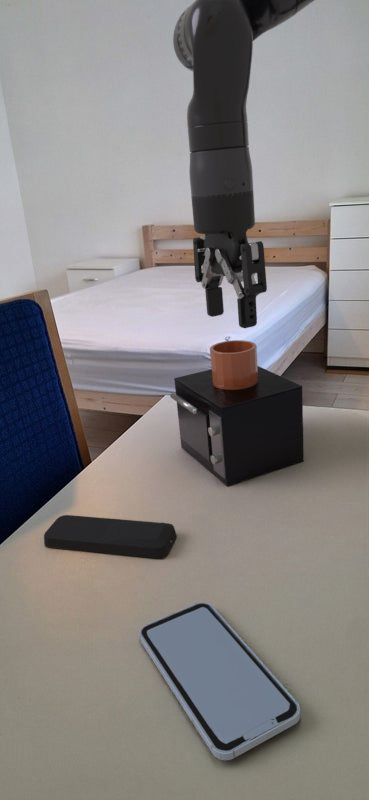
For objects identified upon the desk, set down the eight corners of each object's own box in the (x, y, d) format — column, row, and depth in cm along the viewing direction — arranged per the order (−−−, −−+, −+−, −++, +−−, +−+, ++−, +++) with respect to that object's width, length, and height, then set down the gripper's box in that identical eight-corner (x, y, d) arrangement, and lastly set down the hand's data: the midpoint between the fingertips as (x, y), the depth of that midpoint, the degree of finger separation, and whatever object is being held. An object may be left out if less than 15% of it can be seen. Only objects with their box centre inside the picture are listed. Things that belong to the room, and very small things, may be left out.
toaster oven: (250, 427, 93) (246, 360, 89) (303, 461, 81) (302, 386, 77) (171, 450, 88) (163, 380, 84) (216, 490, 76) (209, 411, 72)
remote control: (42, 550, 68) (165, 559, 64) (38, 537, 68) (163, 545, 63) (62, 526, 73) (179, 533, 68) (59, 514, 72) (177, 519, 67)
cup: (243, 371, 85) (241, 337, 83) (266, 383, 80) (264, 347, 78) (205, 381, 83) (202, 346, 81) (226, 393, 77) (224, 356, 76)
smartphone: (206, 598, 56) (306, 711, 43) (207, 606, 57) (306, 721, 44) (134, 629, 53) (218, 759, 41) (136, 637, 54) (219, 769, 41)
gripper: (281, 186, 67) (286, 325, 73) (220, 187, 80) (229, 307, 86) (223, 193, 65) (233, 337, 71) (169, 193, 77) (182, 316, 83)
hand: (231, 320), depth 78 cm, fingers open, 8 cm apart
